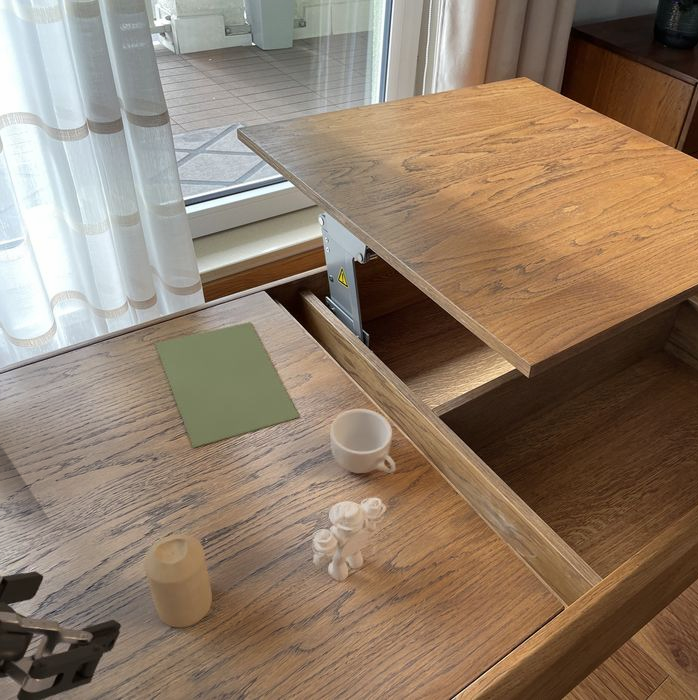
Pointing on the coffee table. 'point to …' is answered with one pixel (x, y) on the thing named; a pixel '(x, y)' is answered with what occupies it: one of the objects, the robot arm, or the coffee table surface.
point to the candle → (178, 580)
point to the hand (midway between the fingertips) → (74, 608)
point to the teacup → (361, 441)
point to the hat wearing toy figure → (346, 535)
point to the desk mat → (224, 384)
